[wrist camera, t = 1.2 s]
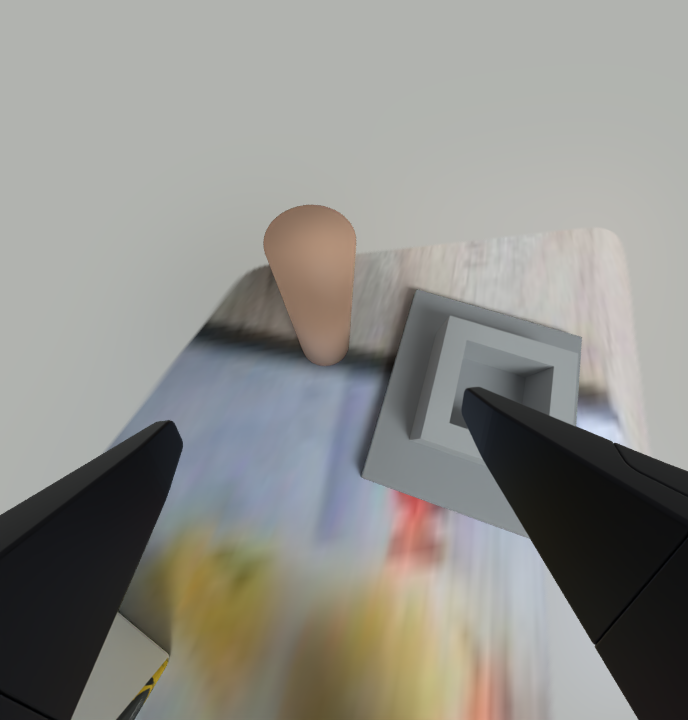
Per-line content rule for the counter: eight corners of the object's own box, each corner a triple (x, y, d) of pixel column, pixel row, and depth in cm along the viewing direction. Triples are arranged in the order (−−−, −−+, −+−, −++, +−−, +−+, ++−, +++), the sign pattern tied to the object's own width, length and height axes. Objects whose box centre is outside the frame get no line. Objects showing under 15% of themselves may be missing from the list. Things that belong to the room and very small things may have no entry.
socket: (556, 547, 19) (611, 572, 15) (360, 476, 20) (365, 482, 16) (572, 341, 23) (616, 320, 20) (413, 295, 25) (427, 267, 21)
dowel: (340, 372, 22) (338, 291, 11) (294, 357, 23) (248, 264, 11) (354, 330, 24) (367, 218, 12) (311, 316, 24) (285, 195, 13)
